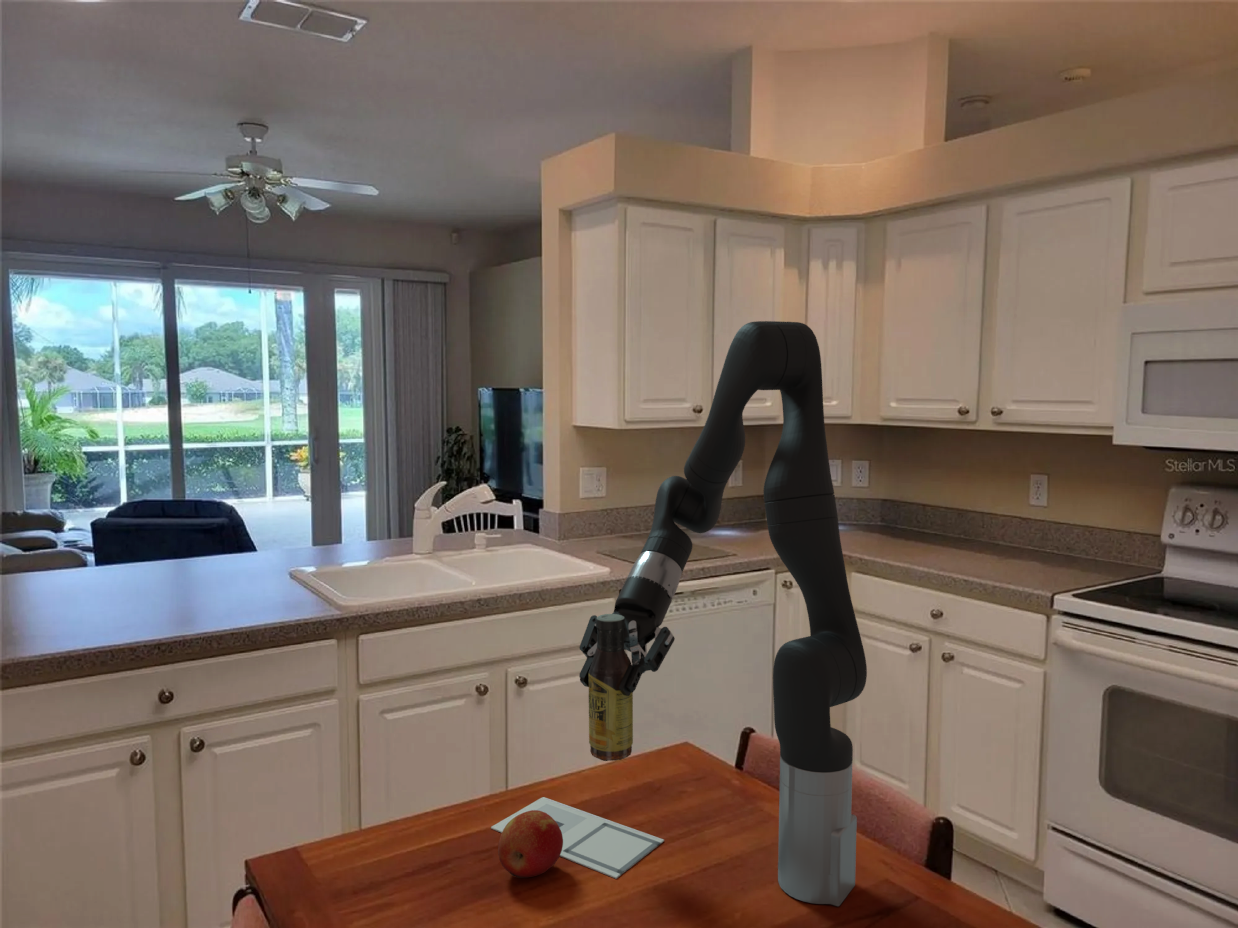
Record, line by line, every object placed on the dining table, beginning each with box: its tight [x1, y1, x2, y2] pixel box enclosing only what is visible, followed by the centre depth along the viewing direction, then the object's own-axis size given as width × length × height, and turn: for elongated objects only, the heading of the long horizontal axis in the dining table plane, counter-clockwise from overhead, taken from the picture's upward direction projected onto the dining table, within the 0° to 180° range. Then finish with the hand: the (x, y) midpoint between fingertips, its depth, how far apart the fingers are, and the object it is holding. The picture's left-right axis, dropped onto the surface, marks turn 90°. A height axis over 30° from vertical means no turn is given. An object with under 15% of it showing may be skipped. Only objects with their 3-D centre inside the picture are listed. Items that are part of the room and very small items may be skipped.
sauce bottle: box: [588, 613, 634, 762], centre depth 118 cm, size 6×6×20 cm
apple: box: [497, 810, 563, 879], centre depth 113 cm, size 8×8×8 cm
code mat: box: [490, 796, 665, 880], centre depth 124 cm, size 23×12×1 cm, turn 55°
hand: (604, 688), depth 117 cm, fingers closed on sauce bottle, 6 cm apart
